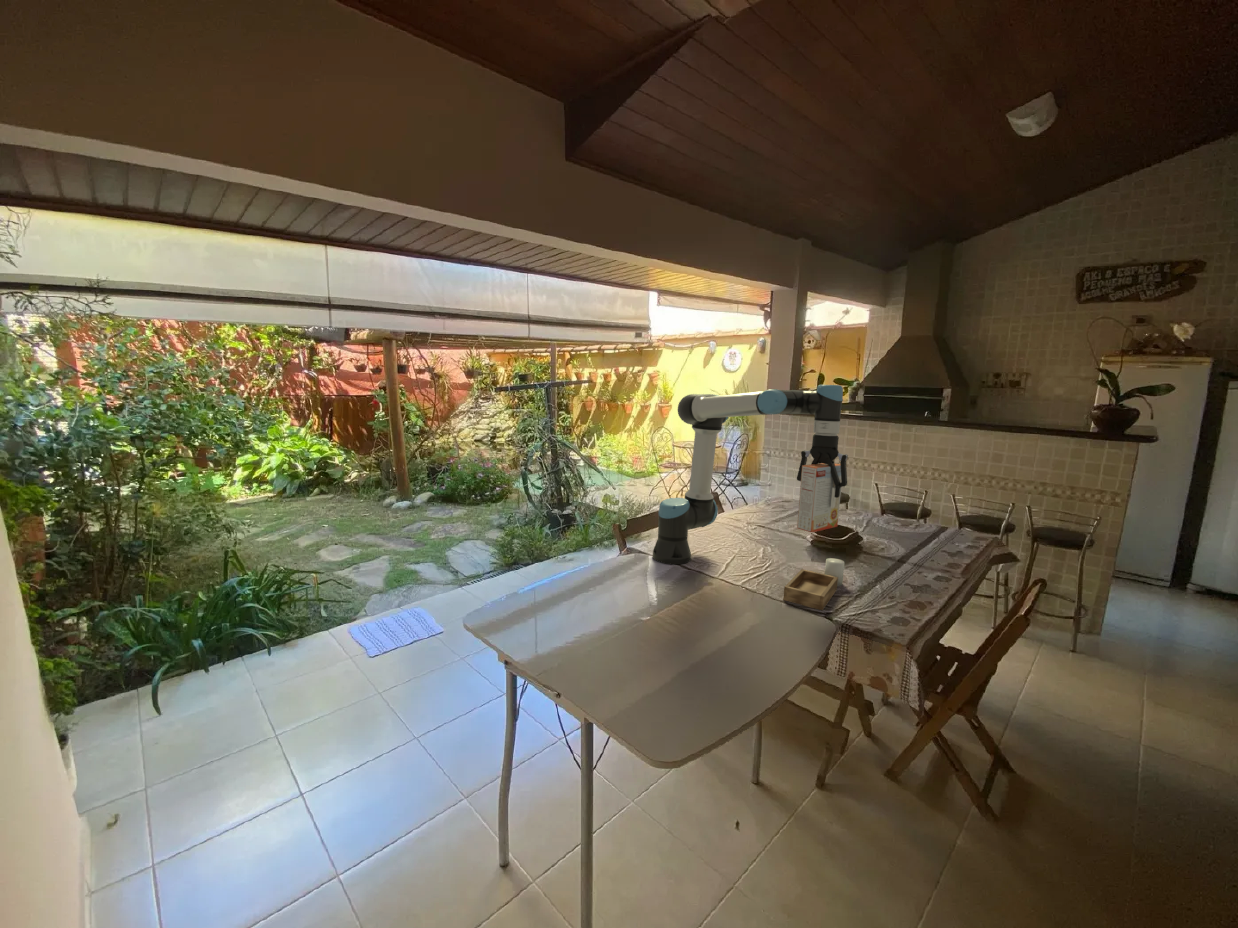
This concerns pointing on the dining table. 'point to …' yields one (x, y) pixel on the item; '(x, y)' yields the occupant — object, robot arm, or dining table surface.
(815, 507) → the cracker box
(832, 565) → the cream rounded shape
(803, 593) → the tray
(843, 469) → the robot arm
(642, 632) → the dining table surface
